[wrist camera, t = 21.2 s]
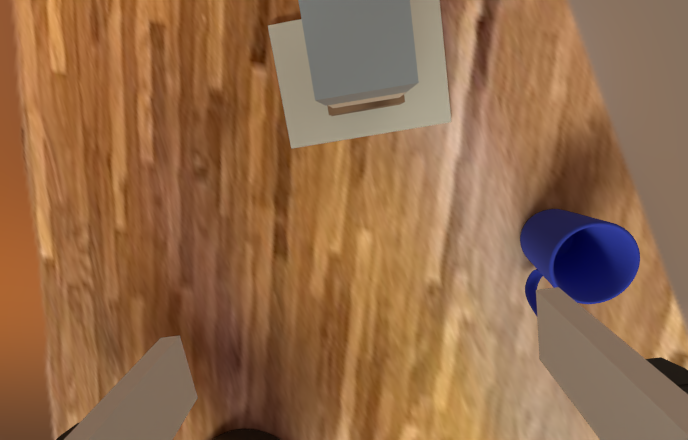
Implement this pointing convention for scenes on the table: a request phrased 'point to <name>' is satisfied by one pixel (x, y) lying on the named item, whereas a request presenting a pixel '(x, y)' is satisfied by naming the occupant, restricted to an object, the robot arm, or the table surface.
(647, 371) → the robot arm
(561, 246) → the mug
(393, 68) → the brick
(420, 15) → the plate
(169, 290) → the table surface
